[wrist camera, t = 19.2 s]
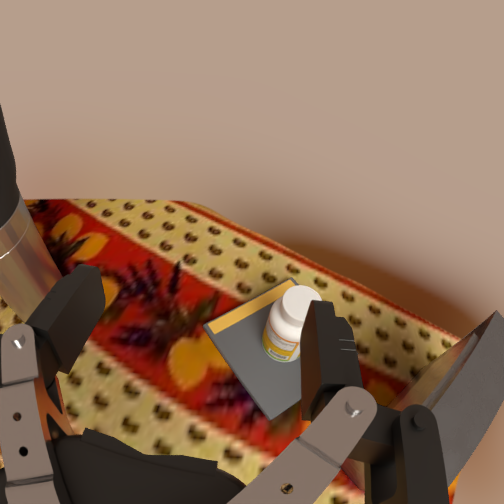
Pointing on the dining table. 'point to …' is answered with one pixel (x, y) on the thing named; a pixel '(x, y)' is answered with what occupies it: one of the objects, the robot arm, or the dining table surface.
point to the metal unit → (456, 395)
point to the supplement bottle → (287, 323)
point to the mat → (257, 353)
